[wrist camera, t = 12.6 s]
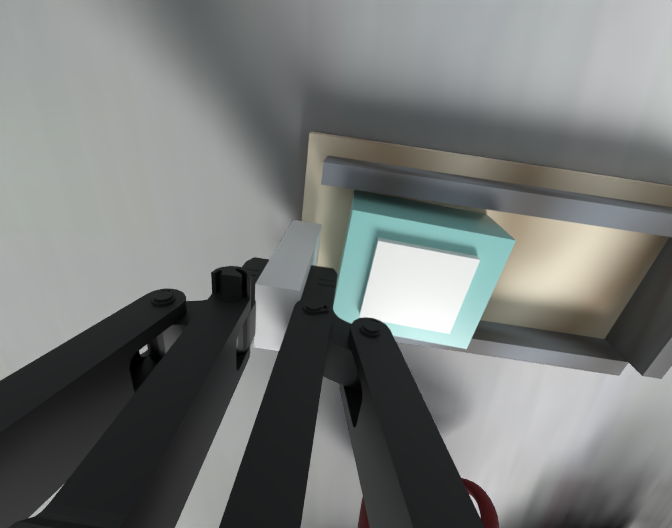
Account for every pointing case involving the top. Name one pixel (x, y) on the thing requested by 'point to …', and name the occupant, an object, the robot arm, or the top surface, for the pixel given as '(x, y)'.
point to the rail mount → (528, 248)
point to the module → (419, 267)
